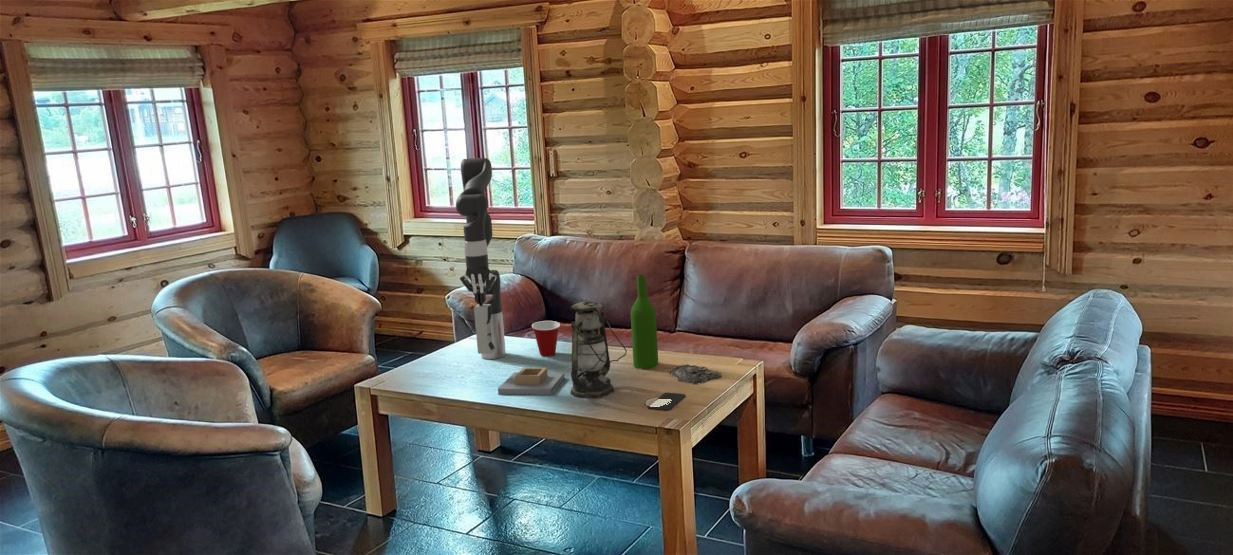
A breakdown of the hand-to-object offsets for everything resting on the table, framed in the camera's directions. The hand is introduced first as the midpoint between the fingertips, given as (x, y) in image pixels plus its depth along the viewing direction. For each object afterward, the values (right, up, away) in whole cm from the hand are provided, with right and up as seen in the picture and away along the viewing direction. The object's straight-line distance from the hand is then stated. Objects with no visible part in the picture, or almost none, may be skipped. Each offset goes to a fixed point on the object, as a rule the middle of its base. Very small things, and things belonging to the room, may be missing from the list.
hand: (480, 303), depth 304 cm
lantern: (+40, -29, -15) cm, 52 cm away
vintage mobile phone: (+2, -17, +3) cm, 18 cm away
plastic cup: (+21, -21, +33) cm, 44 cm away
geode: (+72, -25, -4) cm, 76 cm away
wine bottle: (+57, -23, +12) cm, 63 cm away
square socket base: (+18, -28, -4) cm, 33 cm away
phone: (+62, -30, -28) cm, 75 cm away
